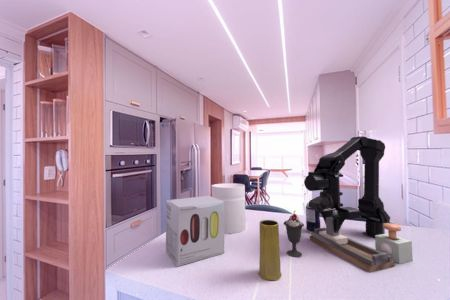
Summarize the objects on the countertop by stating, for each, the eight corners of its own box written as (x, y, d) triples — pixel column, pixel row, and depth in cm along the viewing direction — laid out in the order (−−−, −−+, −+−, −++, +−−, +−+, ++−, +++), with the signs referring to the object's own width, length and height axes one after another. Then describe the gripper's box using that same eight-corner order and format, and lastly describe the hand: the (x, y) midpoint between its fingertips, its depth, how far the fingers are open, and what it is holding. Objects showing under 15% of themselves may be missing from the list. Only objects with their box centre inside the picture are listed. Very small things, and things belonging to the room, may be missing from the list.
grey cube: (388, 250, 68) (387, 233, 69) (412, 260, 62) (411, 241, 62) (374, 253, 67) (374, 235, 67) (398, 264, 60) (397, 243, 60)
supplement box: (177, 268, 59) (177, 207, 60) (165, 251, 70) (165, 199, 71) (226, 253, 68) (225, 200, 69) (208, 240, 79) (208, 194, 80)
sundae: (295, 260, 63) (293, 212, 63) (280, 251, 69) (279, 208, 69) (309, 255, 66) (308, 210, 66) (293, 247, 72) (292, 206, 72)
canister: (251, 225, 96) (250, 184, 97) (235, 236, 83) (234, 188, 84) (223, 220, 105) (223, 182, 106) (204, 229, 91) (204, 186, 92)
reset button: (390, 236, 67) (389, 222, 67) (405, 241, 63) (404, 226, 63) (380, 238, 66) (380, 223, 66) (395, 243, 62) (394, 228, 62)
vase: (256, 268, 58) (255, 219, 59) (277, 267, 59) (275, 218, 59) (262, 281, 52) (261, 226, 53) (284, 280, 53) (283, 225, 53)
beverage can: (322, 234, 84) (321, 205, 85) (307, 233, 85) (307, 205, 86) (318, 229, 90) (317, 202, 90) (305, 228, 91) (304, 202, 92)
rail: (329, 236, 82) (329, 226, 82) (394, 266, 59) (393, 252, 59) (309, 239, 79) (309, 229, 79) (369, 272, 56) (368, 257, 56)
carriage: (329, 235, 78) (329, 214, 79) (347, 243, 71) (346, 220, 71) (319, 236, 77) (318, 216, 77) (336, 245, 69) (335, 222, 70)
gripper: (297, 187, 81) (298, 225, 81) (334, 194, 64) (336, 244, 63) (319, 185, 85) (320, 222, 84) (360, 192, 67) (362, 239, 66)
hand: (332, 231), depth 74 cm, fingers closed on carriage, 3 cm apart
